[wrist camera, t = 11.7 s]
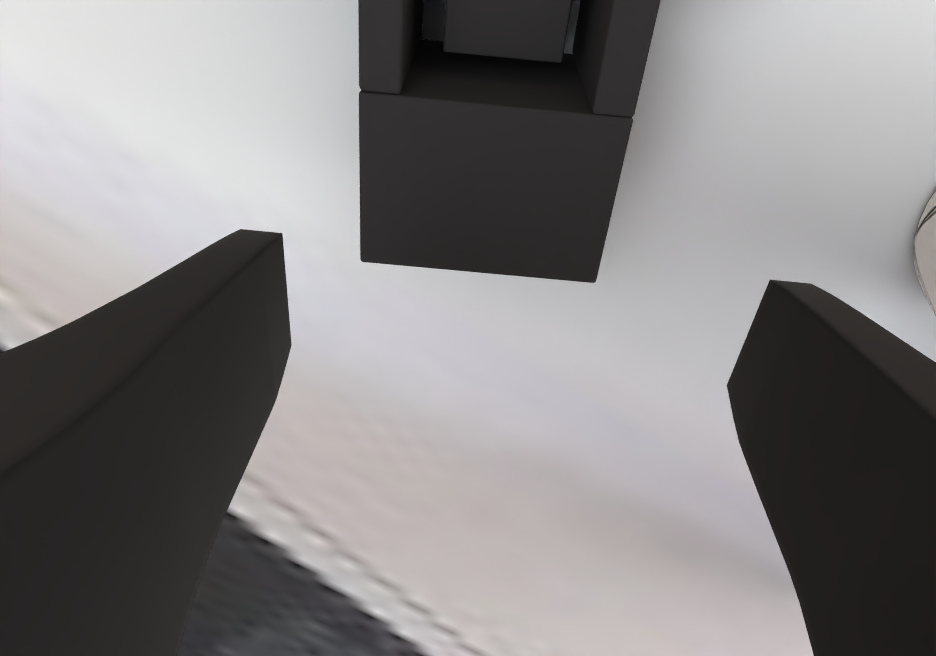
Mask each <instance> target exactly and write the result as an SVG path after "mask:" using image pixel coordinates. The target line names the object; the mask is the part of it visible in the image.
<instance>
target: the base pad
mask: <svg viewBox="0 0 936 656" xmlns="http://www.w3.org/2000/svg"><path fill="white" fill-rule="evenodd" d="M571 3H572V0H446V9H445V25H444V42H443V50H444V51H445V52H450V53H460V54H471V55H481V56H491V57H502V58H512V59H522V60H532V61H543V62H553V63H561V62H562V60H563V53H564V47H565V41H566V35H567V28H568V22H569V16H570V9H571Z"/></svg>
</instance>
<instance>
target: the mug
mask: <svg viewBox="0 0 936 656" xmlns="http://www.w3.org/2000/svg"><path fill="white" fill-rule="evenodd" d="M913 254H914V264H915V269H916V273H917V277H918V280H919V282H920V285H921V287H922V290H923V292H924V294H925V296H926V298H927V300H928V302H929V304H930V306H931V308H932V310H933V311H934V313H935V315H936V191H935V193H934V194H933V196H932V197H931V199H930V200H929V202H928V204H927V206H926V208H925V210H924V212H923V214H922V216H921V219H920V221H919V224H918V228H917V232H916V236H915V241H914V252H913Z"/></svg>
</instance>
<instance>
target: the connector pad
mask: <svg viewBox="0 0 936 656" xmlns="http://www.w3.org/2000/svg"><path fill="white" fill-rule="evenodd" d="M358 2H359V86H360V88H361V91H360V93H359V150H360V256H361V261H362V262H371V263H382V264H393V265H404V266H415V267H426V268H437V269H448V270H459V271H470V272H481V273H492V274H503V275H513V276H524V277H535V278H546V279H557V280H568V281H579V282H590V283H595V281H596V279H597V274H598V270H599V266H600V261H601V257H602V253H603V248H604V244H605V240H606V235H607V231H608V227H609V222H610V218H611V213H612V209H613V205H614V200H615V196H616V192H617V187H618V183H619V179H620V174H621V170H622V166H623V161H624V157H625V153H626V148H627V144H628V140H629V135H630V131H631V127H632V122H633V119H632V117H633V115H634V113H635V109H636V104H637V100H638V96H639V91H640V87H641V83H642V78H643V74H644V70H645V65H646V61H647V56H648V52H649V48H650V43H651V39H652V35H653V30H654V26H655V22H656V17H657V13H658V9H659V4H660V0H581V2H580V8H579V14H578V20H577V26H576V32H575V38H574V44H573V50H572V52H573V54H566V53H563V60H562V62H561V63H553V62H543V61H532V60H522V59H512V58H502V57H491V56H481V55H471V54H460V53H450V52H445V51H444V50H443V41H433V40H423V39H421V37H422V24H423V0H358Z"/></svg>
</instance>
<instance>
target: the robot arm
mask: <svg viewBox="0 0 936 656" xmlns="http://www.w3.org/2000/svg"><path fill="white" fill-rule="evenodd" d="M290 348H291V334H290V322H289V310H288V298H287V285H286V273H285V261H284V249H283V237H282V233H274V232H264V231H253V230H243V229H240V230H238V231H236V232H234V233H232V234H230V235H228V236H226V237H224V238H222V239H220V240H219V241H217V242H215V243H213V244H212V245H210V246H208V247H206V248H205V249H203V250H201V251H200V252H198V253H196V254H195V255H193V256H191V257H190V258H188V259H186V260H184V261H183V262H181V263H179V264H178V265H176V266H174V267H172V268H171V269H169V270H167V271H166V272H164V273H162V274H160V275H159V276H157V277H155V278H154V279H152V280H150V281H148V282H147V283H145V284H143V285H141V286H140V287H138V288H136V289H134V290H132V291H130V292H128V293H127V294H125V295H123V296H121V297H119V298H117V299H115V300H113V301H111V302H109V303H107V304H105V305H104V306H102V307H100V308H98V309H96V310H94V311H92V312H90V313H88V314H86V315H84V316H83V317H81V318H79V319H77V320H75V321H73V322H71V323H69V324H67V325H64V326H62V327H60V328H58V329H56V330H54V331H52V332H49V333H47V334H45V335H43V336H41V337H38V338H36V339H34V340H32V341H29V342H27V343H24V344H22V345H20V346H17V347H15V348H12V349H10V350H8V351H5V352H3V353H0V656H177V655H178V651H179V648H180V645H181V641H182V638H183V635H184V631H185V628H186V625H187V621H188V618H189V615H190V612H191V609H192V606H193V603H194V600H195V596H196V593H197V590H198V587H199V584H200V581H201V578H202V575H203V572H204V569H205V565H206V562H207V559H208V556H209V553H210V551H211V548H212V545H213V543H214V540H215V538H216V535H217V533H218V530H219V528H220V525H221V523H222V520H223V518H224V516H225V514H226V512H227V509H228V507H229V505H230V503H231V500H232V498H233V496H234V494H235V491H236V489H237V487H238V485H239V482H240V480H241V478H242V476H243V474H244V471H245V469H246V467H247V465H248V462H249V460H250V458H251V456H252V454H253V451H254V449H255V447H256V445H257V442H258V440H259V438H260V435H261V433H262V431H263V429H264V426H265V424H266V422H267V420H268V417H269V415H270V413H271V410H272V408H273V406H274V403H275V401H276V398H277V395H278V391H279V388H280V384H281V381H282V378H283V374H284V371H285V367H286V363H287V359H288V356H289V352H290ZM727 388H728V393H729V398H730V403H731V408H732V414H733V418H734V422H735V427H736V431H737V435H738V439H739V443H740V446H741V448H742V451H743V454H744V457H745V459H746V462H747V465H748V467H749V470H750V473H751V475H752V478H753V481H754V483H755V486H756V488H757V491H758V494H759V496H760V499H761V501H762V504H763V506H764V509H765V511H766V514H767V517H768V519H769V522H770V524H771V527H772V529H773V532H774V534H775V537H776V540H777V542H778V545H779V547H780V550H781V552H782V555H783V557H784V560H785V563H786V565H787V568H788V570H789V573H790V576H791V579H792V582H793V585H794V587H795V590H796V593H797V596H798V599H799V602H800V606H801V609H802V613H803V617H804V620H805V624H806V628H807V631H808V635H809V639H810V643H811V646H812V650H813V654H814V656H936V362H934V361H933V360H931V359H929V358H928V357H926V356H925V355H923V354H922V353H920V352H919V351H917V350H916V349H914V348H913V347H911V346H910V345H908V344H907V343H905V342H904V341H902V340H901V339H899V338H898V337H896V336H895V335H893V334H892V333H890V332H889V331H887V330H886V329H884V328H883V327H881V326H880V325H878V324H877V323H875V322H874V321H872V320H871V319H869V318H868V317H866V316H865V315H863V314H862V313H860V312H859V311H857V310H856V309H854V308H852V307H851V306H849V305H848V304H846V303H845V302H843V301H841V300H840V299H838V298H836V297H835V296H833V295H831V294H830V293H828V292H826V291H824V290H822V289H820V288H818V287H816V286H814V285H812V284H808V283H798V282H787V281H777V280H770V281H769V283H768V286H767V288H766V291H765V293H764V295H763V298H762V300H761V303H760V305H759V308H758V310H757V313H756V315H755V318H754V320H753V322H752V325H751V327H750V330H749V332H748V335H747V337H746V340H745V342H744V345H743V347H742V349H741V352H740V354H739V357H738V359H737V362H736V364H735V367H734V369H733V372H732V374H731V377H730V379H729V381H728V384H727Z"/></svg>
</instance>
